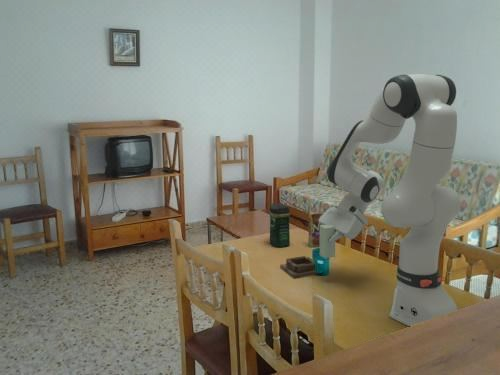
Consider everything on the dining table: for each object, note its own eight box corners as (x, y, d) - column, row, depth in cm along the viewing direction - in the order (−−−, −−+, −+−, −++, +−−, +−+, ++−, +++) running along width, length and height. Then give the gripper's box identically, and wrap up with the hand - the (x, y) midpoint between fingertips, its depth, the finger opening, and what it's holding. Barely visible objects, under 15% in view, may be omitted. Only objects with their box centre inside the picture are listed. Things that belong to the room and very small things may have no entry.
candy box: (310, 247, 209) (310, 213, 206) (308, 244, 213) (308, 211, 210) (330, 246, 210) (330, 212, 207) (327, 243, 214) (328, 210, 211)
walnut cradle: (322, 273, 179) (323, 264, 179) (294, 278, 175) (294, 269, 174) (307, 263, 190) (307, 254, 190) (280, 267, 186) (280, 258, 185)
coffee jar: (292, 246, 211) (292, 205, 207) (276, 248, 208) (275, 207, 205) (283, 240, 220) (283, 200, 216) (267, 242, 217) (266, 202, 213)
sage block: (335, 256, 170) (335, 226, 168) (325, 258, 169) (325, 228, 166) (329, 253, 174) (329, 224, 172) (319, 255, 172) (319, 225, 170)
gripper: (329, 199, 180) (306, 227, 178) (360, 211, 161) (335, 242, 159) (339, 209, 182) (316, 237, 180) (371, 222, 163) (346, 253, 162)
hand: (325, 240), depth 170 cm, fingers closed on sage block, 4 cm apart
